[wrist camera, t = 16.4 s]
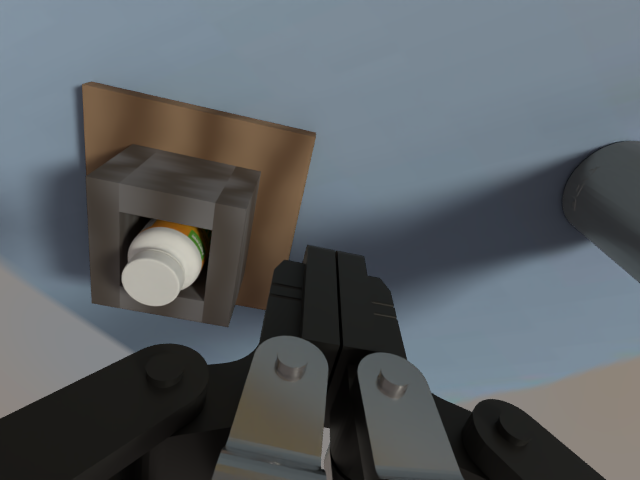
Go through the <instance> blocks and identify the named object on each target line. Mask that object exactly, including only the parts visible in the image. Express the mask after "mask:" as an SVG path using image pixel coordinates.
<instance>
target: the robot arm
mask: <svg viewBox="0 0 640 480" xmlns="http://www.w3.org/2000/svg"><path fill="white" fill-rule="evenodd" d="M562 205H563V211H564V214H565V217H566V218H567V220H568V221H569V223H570V224H571V225H573V226H574V227H575V228H576V229H577V230H578V231H580V232H581V233H582V234H583V235H584V236H585V237H586V238H588V239H589V240H590V241H591V242H592V243H593V244H594V245H595V246H597V247H598V248H599V249H600V250H601V251H602V252H604V253H605V254H606V255H607V256H608V257H610V258H611V259H612V260H613V261H614V262H615V263H617V264H618V265H619V266H620V267H621V268H622V269H624V270H625V271H626V272H627V273H628V274H629V275H631V276H632V277H633V278H634V279H635V280H637V281H638V282H639V283H640V141H624V142H618V143H614V144H611V145H609V146H606V147H604V148H602V149H600V150H598V151H596V152H595V153H593V154H592V155H590V156H589V157H588V158H586V159H585V160H584V161H583V162H582V163H581V164H580V165H579V166H578V167H577V168H576V169H575V170H574V172H573V173H572V175H571V176H570V178H569V179H568V182H567V184H566V186H565V189H564V193H563V198H562ZM393 306H394V304H393V300H392V296H391V291H390V290H389V289H388V288H387V286H386V285H385V284H384V283H383V281H382V280H381V279H380V278H377V277H372V276H367V270H366V264H365V258H364V256H361V255H356V254H351V253H346V252H341V251H336V252H335V250H331V249H326V248H321V247H316V246H311V245H307V247H306V251H305V255H304V259H303V263H299V262H294V261H289V260H283V261H282V262H281V263H280V264H279V265H278V266H277V267H276V268H275V269H274V272H273V277H272V282H271V287H270V291H269V296H268V301H267V306H266V311H265V316H264V321H263V326H262V331H261V337H260V342H259V344H258V346H257V347H256V349H255V350H254V351H253V352H252V353H250V354H249V355H247V356H246V357H244V358H242V359H240V360H237V361H233V362H229V363H222V364H211V365H207V363H206V361H205V360H204V358H203V357H202V356H201V355H200V354H199V353H198V352H196V351H195V350H193V349H191V348H189V347H186V346H183V345H178V344H158V345H153V346H150V347H147V348H144V349H142V350H140V351H138V352H135V353H133V354H131V355H129V356H127V357H125V358H123V359H121V360H119V361H117V362H115V363H113V364H111V365H109V366H107V367H105V368H103V369H101V370H99V371H97V372H95V373H93V374H91V375H89V376H86V377H85V378H82V379H80V380H78V381H76V382H74V383H72V384H70V385H68V386H66V387H64V388H62V389H60V390H58V391H56V392H54V393H52V394H50V395H48V396H46V397H44V398H42V399H39V400H38V401H35V402H33V403H31V404H29V405H27V406H25V407H23V408H21V409H19V410H17V411H15V412H13V413H11V414H9V415H7V416H5V417H3V418H1V419H0V480H606V479H604V478H603V477H602V476H601V475H600V474H599V473H597V472H596V471H595V470H594V469H593V468H591V467H590V466H589V465H587V463H585V462H584V461H583V460H582V459H581V458H580V457H578V456H577V455H576V454H575V453H573V452H572V451H571V450H570V449H569V448H568V447H566V446H565V445H564V444H563V443H562V442H560V441H559V440H558V439H557V438H556V437H554V436H553V435H552V434H551V433H550V432H548V431H547V430H546V429H545V428H543V427H542V426H541V425H540V424H539V423H538V422H537V421H535V420H534V419H533V418H532V417H531V416H529V415H528V414H527V413H525V412H524V411H522V410H521V409H519V408H518V407H516V406H514V405H512V404H510V403H507V402H504V401H501V400H495V399H487V400H483V401H481V402H479V403H478V404H477V405H476V406H475V408H474V410H473V411H472V412H471V411H468V410H466V409H464V408H462V407H459V406H457V405H455V404H452V403H450V402H448V401H446V400H443V399H441V398H439V397H437V396H436V395H434V394H433V393H431V391H430V388H429V385H428V383H427V381H426V379H425V377H424V376H423V374H422V373H421V372H420V371H419V369H418V368H417V367H415V366H414V365H413V364H412V363H410V362H409V361H407V357H406V353H405V349H404V345H403V341H402V337H401V333H400V328H399V324H398V320H397V319H396V317H397V316H396V312H395V308H393ZM324 427H326V428H330V444H329V447H328V449H327V452H326V455H325V459H324V469H321V453H322V441H323V429H324Z"/></svg>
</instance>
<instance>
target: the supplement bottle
mask: <svg viewBox="0 0 640 480" xmlns="http://www.w3.org/2000/svg"><path fill="white" fill-rule="evenodd" d="M211 236H212V230H209V229H204V228H199V227H194V226H189V225H184V224H178V223H173V222H168V221H163V220H158V219H153V218H151V220H150V221H149V222H148V223H147V224H146V225H145V227H144V228H143V229H142V230H141V231H140V233H138V235H137V236H136V237H135V238H134V240H133V241H132V243H131V245H130V247H129V250H128V263H127V265H126V266H125V268H124V270H123V272H122V284H123V287H124V289H125V290H126V292H127V293H128V294H129V295H130V296H131V297H132V298H133V299H135V300H136V301H138V302H140V303H142V304H145V305H149V306H162V305H166V304H168V303H170V302H172V301H173V300H174V299H175V298H176V297H177V296H178V294H179V292H180V290H183V289H185V288H187V287H188V286H190V285H191V284H192V283H193V282H194V281H195V280H196V278H197V277H198V275H199V273H200V271H201V269H202V267H203V265H204V263H205V261H206V259H207V257H208V255H209V253H210V245H211Z"/></svg>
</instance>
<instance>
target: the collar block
mask: <svg viewBox="0 0 640 480" xmlns="http://www.w3.org/2000/svg"><path fill="white" fill-rule="evenodd" d="M82 93H83V114H84V135H85V156H86V193H87V214H88V234H89V255H90V276H91V297H92V303H94V304H99V305H105V306H111V307H116V308H122V309H128V310H133V311H139V312H145V313H150V314H156V315H162V316H167V317H173V318H179V319H185V320H190V321H196V322H202V323H207V324H213V325H219V326H224V327H228V326H229V323H230V320H231V316H232V313H233V310H234V306H235V305H240V306H246V307H251V308H257V309H262V310H266V306H267V301H268V296H269V291H270V287H271V282H272V277H273V272H274V269H275V268H276V267H277V266H278V265H279V264H280V263H281V262H282V261H283V260H289V255H290V251H291V246H292V242H293V237H294V233H295V228H296V224H297V219H298V215H299V210H300V205H301V201H302V196H303V192H304V187H305V183H306V178H307V174H308V169H309V165H310V160H311V156H312V151H313V147H314V142H315V138H316V133H315V132H310V131H306V130H302V129H297V128H293V127H288V126H284V125H280V124H275V123H271V122H267V121H262V120H258V119H253V118H249V117H245V116H240V115H236V114H231V113H227V112H223V111H218V110H214V109H209V108H205V107H201V106H196V105H192V104H188V103H183V102H179V101H174V100H170V99H166V98H161V97H157V96H152V95H148V94H144V93H139V92H135V91H130V90H126V89H122V88H117V87H113V86H109V85H104V84H100V83H95V82H88V83H85V84H82ZM151 218H153V219H158V220H163V221H168V222H173V223H178V224H184V225H189V226H194V227H199V228H204V229H209V230H212V236H211V245H210V253H209V255H208V257H207V259H206V261H205V263H204V265H203V267H202V269H201V271H200V273H199V275H198V277H197V278H196V280H195V281H194V282H193V283H192V284H191V285H190V286H188V287H187V288H185V289H183V290H180V292H179V294H178V296H177V297H176V298H175V299H174V300H173V301H172V302H170V303H168V304H166V305H162V306H149V305H145V304H142V303H140V302H138V301H136V300H135V299H133V298H132V297H131V296H130V295H129V294H128V293H127V292H126V290H125V289H124V287H123V284H122V272H123V270H124V268H125V266H126V265H127V263H128V250H129V247H130V245H131V243H132V241H133V240H134V238H135V237H136V236H137V235H138V233H140V231H141V230H142V229H143V228H144V227H145V225H146V224H147V223H148V222H149V221H150V220H151Z"/></svg>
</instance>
